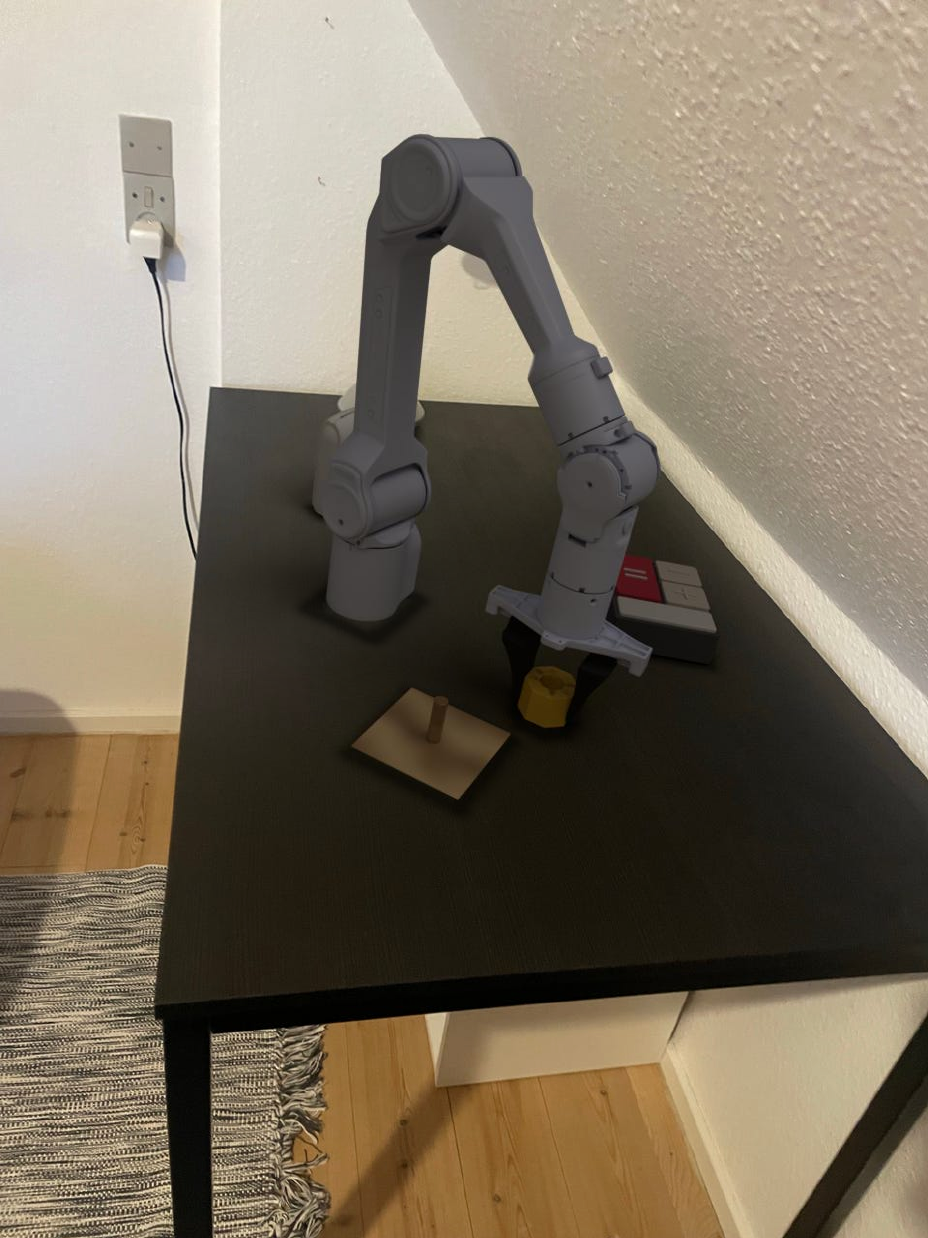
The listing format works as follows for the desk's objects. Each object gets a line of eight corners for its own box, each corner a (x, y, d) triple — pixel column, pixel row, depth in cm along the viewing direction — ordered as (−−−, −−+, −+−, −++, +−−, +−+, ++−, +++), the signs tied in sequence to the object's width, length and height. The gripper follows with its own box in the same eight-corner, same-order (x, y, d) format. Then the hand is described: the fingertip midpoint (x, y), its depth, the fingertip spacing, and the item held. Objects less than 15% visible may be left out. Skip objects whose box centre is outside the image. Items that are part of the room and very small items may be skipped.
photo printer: (369, 488, 118) (381, 394, 111) (393, 502, 116) (407, 407, 109) (305, 507, 111) (314, 408, 104) (330, 523, 109) (340, 422, 102)
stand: (410, 694, 85) (418, 649, 82) (509, 740, 82) (521, 695, 79) (349, 753, 77) (356, 705, 74) (456, 806, 74) (467, 759, 71)
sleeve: (529, 694, 88) (539, 660, 86) (574, 714, 87) (585, 680, 84) (509, 719, 84) (518, 683, 82) (556, 740, 83) (566, 705, 81)
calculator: (700, 564, 108) (724, 630, 95) (689, 596, 110) (710, 665, 97) (606, 546, 108) (617, 610, 95) (597, 579, 110) (606, 646, 97)
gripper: (482, 562, 77) (454, 693, 84) (649, 630, 72) (605, 762, 79) (518, 532, 82) (489, 657, 89) (675, 593, 78) (631, 720, 85)
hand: (545, 704), depth 85 cm, fingers closed on sleeve, 5 cm apart
